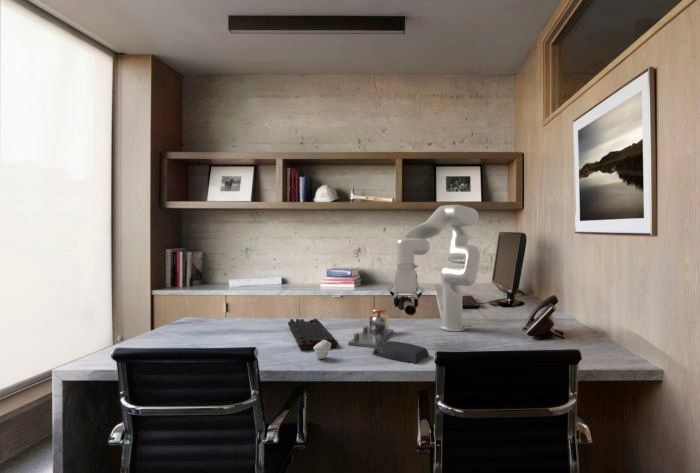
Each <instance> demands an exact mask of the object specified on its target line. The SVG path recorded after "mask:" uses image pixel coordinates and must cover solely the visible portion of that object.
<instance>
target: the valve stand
mask: <svg viewBox="0 0 700 473" xmlns="http://www.w3.org/2000/svg"><path fill="white" fill-rule="evenodd" d="M386 312H387V308H385V307H384V308H382V307H375V308H374V307H373V308H371V313H372V314H371V315H369V326H367V325H364V326H363V327H362V329H363V330H362V331H361V332H355V333H354V334H353V338H352V339H351V340H350V341H348V346H354V347H365V348H373V349H374V348H375V346H378V345H380V344H382V343H385V342H386V340H387V339H388V338H389V337H390V336H391V335H392V334H393V333H394V329H393V328H389V314H382V313H386Z"/></svg>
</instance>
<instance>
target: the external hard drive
mask: <svg viewBox="0 0 700 473" xmlns="http://www.w3.org/2000/svg"><path fill="white" fill-rule="evenodd" d="M371 354H372V356H376V357H379V358H383V359H386V360H392V361H395V362H396V361H397V362H401V363H405V362H406V364H411V363H413V364H412V365H417V364H419V363H420V362H423V361H424V360H426V359H427V358H428V356H429V357H430V354H429V351H428V349H427V348H426V347H424V346H420V345H417V344H413V343H408V342H405V341H404V342H402V341H395V340H388V341H384V342H383V343H382V344H380V345H378V346H375V348H373V351H372V353H371ZM423 359H424V360H423ZM418 362H419V363H418ZM416 363H417V364H416Z"/></svg>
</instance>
